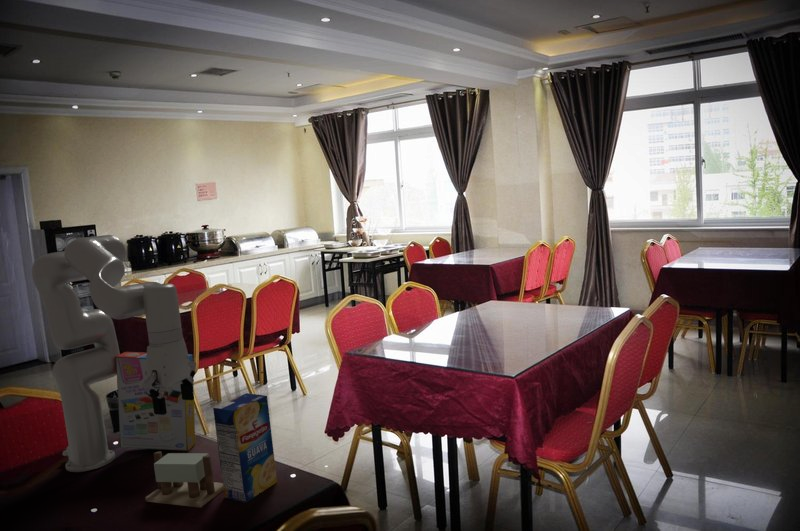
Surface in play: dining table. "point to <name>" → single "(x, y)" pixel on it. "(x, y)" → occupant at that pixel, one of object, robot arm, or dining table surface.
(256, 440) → the beverage box
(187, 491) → the rack
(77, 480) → the dining table surface
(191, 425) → the game box
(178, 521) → the dining table surface
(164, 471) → the pale green rectangular block
